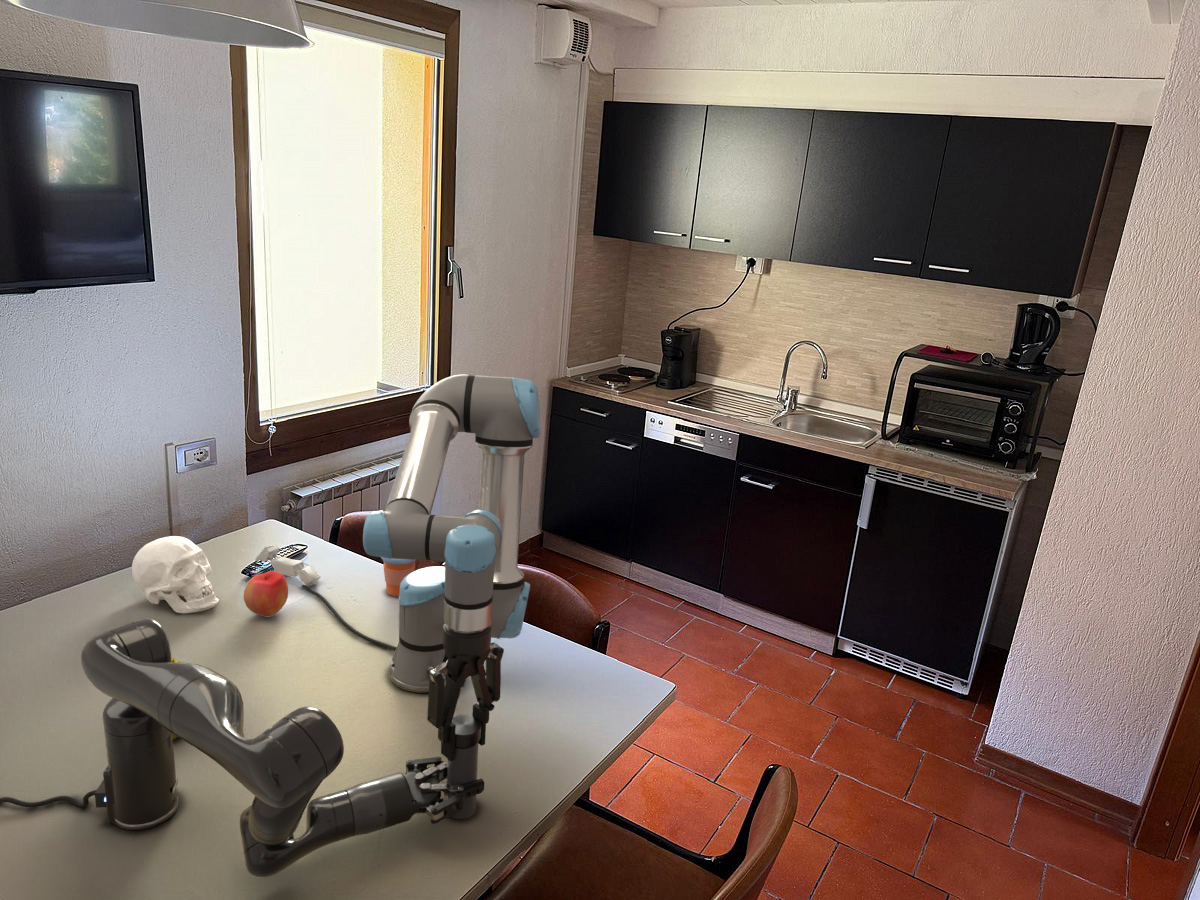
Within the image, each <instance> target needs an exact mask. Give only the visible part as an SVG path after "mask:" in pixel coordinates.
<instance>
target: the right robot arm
mask: <svg viewBox="0 0 1200 900" xmlns="http://www.w3.org/2000/svg"><path fill="white" fill-rule="evenodd" d="M408 419H409V420H408V424H409V429H410V433H409V435H408V438H407V441H406V445H405V447H404V451H403V453H402V456H401V459H400V462H399V466H398V469H397V472H396V475H395V478H394V480H393V481H394V482H393V483H392V486H391V490H390V493H389V496H388V498H387V502H386V505H385V507H384V508H385V509H384V510H382V509H381V510H373V511H370V512H369V513H368V514H367V515H366V518H365V520H364V525H363V531H362V532H363V533H362V545H363V549H364V551H365V553H366V555H368V556H371V557H376V558H381V557H383V558H389V559H392V558H393V559H413V560H415V561H416V560H417V561H431V562H442V563H443V562H444V565H443V566H441V565H435V566H433V565H432V566H426V567H422V568H419V569H415V571H414V572H412V573H410V574H408V575H407V576H406V577H405V578H404V579H403V580H402V582H401V585H400V594H399V596H398V598H397V601H398V643H397V645H396V646H394V645H390V644H387V643H385V642H382V641H380V640H376V639H374V638H371V637H369V636H367V635H365V634H364V633H361V632H360V631H358V630H357V629H356V628H354V627H352V626H351V625H350V623H347V621H345V620H344V618H342V616H341V615H340V614H339V613H338V611H337V610H336V609H335V608H334V607H333V606H332V604H331V603H330V602H329V600H328V599H326V598H325V597H324V596H323V595H321V594H320V593H319V592H318V591H316V590H315V589H313V588H311V587H309V586H306V585H305V584H304V583H303V584H302V585H301V587H302V589H304V590H305V591H308V592H309V593H311V594H313V595H314V596H316V597H317V598H318V599H319V600H320V601H321V602H323V603H324V604H325V606H326V607H327V608H328V610H330V612H331V613H332V614H333V615H334V616H335V618H336V619H337V620H338V621H339V622H340V624H342V625H343V626H344V628H346V629H348V631H349V632H351V633H352V634H354V635H356V636H357V637H359V638H361V639H362V640H364V641H367V642H369V643H371V644H374V645H376V646H379V647H382V648H385V649H387V650H391V651H394V653H393V656H392V659H391V660H390V666H389V679H390V681H391V682H392V683H393V684H394V685H395V686H396V687H398V688H399V689H401V690H404V691H407V692H410V693H416V694H428V696H427V697H428V698H427V699H428V700H427V712H426V714H427V716H426V720H427V722H428V723H430V724H431V725H432V726H433V727H435V728H436V729H437V739H438V741H440V754H441V755H443V757H445V758H446V759H447V761H448V760H450V761H452V760H454V759H455V729H456V725H455V724H454V723H452V720H453V717H455V712H456V709H457V706H458V702H459V697H460V693H461V690H462V688H464V687H465V684H466V681H467V679H469V678H471V683H472V687H473V691H474V694H475V699H476V701H477V702H476V703H473V704H472V716H474V717H476V718H478V719H479V720H480V722H481V738H480V741H479V742H478V745H479V746H481V747H482V746H484V745H486V733H487V724H488V723H489V721H490V712H492V711H494V709H495V704H493V703H494V702H498V701H500V699H501V679H502V677H501V676H502V675H501V674H502V659H503V655H504V652H505V648H503V647H502V646H500V645H498V644H497V643H495V642H493V641H492V639H497V640H501V639H515V638H517V637H518V636H520V635H521V633H522V630H523V625H524V619H525V614H526V610H527V605H528V600H529V595H530V591H531V584H530V582H527V581H525V574H524V572H523V571H522V570H521V569H520V568H519V565H518V563H519V546H520V533H521V532H520V531H521V516H522V500H523V499H522V498H523V483H524V481H523V480H524V467H525V454H526V453H527V452H528V451H529V450H531V448H533V444H534V439H535V440H536V439H537V438H540V437H541V408H540V396H539V389H538V387H537V384H536V382H534V381H533V380H530V379H526V378H520V377H519V378H518V377H514V376H513V377H511V376H509V377H508V376H489V375H474V374H473V375H472V374H465V373H463V374H455V375H451V376H448V377H445V378H443V379H441V380H439V381H437V382H436V383H434V384H433V385H431V386H430V387H428V389H426V390H425V391H424V392H423V393H422V394H421V395H420V397H419V398H418V399H417V400H416V402H415V404H414V405H413V407H412V410H411V412H410V415H409V418H408ZM458 433H467V434H475V435H474V437H475V438H474V443H475V444H476V446H477V447H478V448H479V449H480V451H481V464H480V482H479V502H478V509H475V510H471V511H470V512H468V513H466V514H464V516H455V515H452V516H451V515H439V514H438V515H437V514H432V511H433V507H434V503H435V498H436V495H437V490H438V487H439V484H440V479H441V476H442V473H443V469H444V466H445V462H446V457H447V454H448V450H449V448H450V447H449V446H450V442H451V441H452V440H454V439H455V438H456V437H457V435H458Z"/></svg>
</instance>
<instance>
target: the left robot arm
mask: <svg viewBox="0 0 1200 900" xmlns="http://www.w3.org/2000/svg"><path fill="white" fill-rule="evenodd" d="M80 653H81V655H80V663H81V667H82V670H83V673H84V674H85V676H86V678H87V680H88V681H89V682H90V683H91V684H92V685H93V687H94V688H95V689H97V690H98V691H99V692H101V693H102V694H104V695H105V696H108V697H109V698H111V699H109V701H108V702H107V703H106V704H105V706H104V709H103V711H102V724H103V731H104V740H105V748H106V758H107V766H106V768H105V769H104V771H103V772H102V774H103V775H102V776H103V780H102V781H101V783H100V785H98V787H97V789H94V790H92V791H88V792H87V793H86V794H84V796H83V797H82V801H79V800H78V799H77V798H75V797H72V796H69V795H59V796H53V797H51V798H48V799H44V800H40V801H33V802H32V801H31V802H29V801H23V800H20V799H17V798H14V797H10V796H4V797H0V804H2V803H9V804H13V805H15V806H19V807H23V808H39V807H43V806H46V805H49V804H53V803H57V802H58V803H59V802H68V803H71V804H72V805H74V806H75V807H78V808H81V809H84V808H87V807H88V806H89V805H90V804H89V799H90V798H91V797H94V801H95V808H99V809H101V808H102V809H103V808H105V809H106V813H107V822H108V824H115V825H116V826H117V827H119V828H121V829H122V830H127V831H141V830H146V829H147V830H148V829H150V828H154V827H156V826H159V825H160V824H162V823H164V822H166V821H168V819H170V818H171V817H172V816H173V815H174V814H175V813H176V811H177V810H178V806H179V802H180V801H179V793H178V785H179V778H177V775H176V774H177V772H176V763H175V749H174V740H173V736H172V733H173V734H174V735H176V736H177V737H176V738H179V739H180V740H182V741H184V742H185V743H186V744H189V745H191V746H192V747H193V748H195V749H197V750H198V751H200V752H201V753H202V754H204V755H205V756H207V757H208V758H210V759H211V760H212V761H214V762H215V763H216V764H218V765H219V766H221V767H222V768H223V769H224V770H225V771H226V772H228V774H229V775H230V776H232V777H233V778H234V779H235V780H236V781H238V782H239V783H240V785H242V786H243V787H244V788H245V789H247V791H249V792H250V793H251V794H252V795H254V798H253V800H252V802H251V805H249V806H247V807H246V808H245V809H244V810H243V811H242V812H241V813H240V816H239V832H240V837H241V843H242V851H243V855H244V861H245V867H246V870H247V872H248V873H249V874H250V875H251V876H254V877H257V878H268V877H272V876H273V877H274V876H275V875H278V874H279V873H281V872H282V871H285V870H286V869H287V868H289V867H290V866H292V865H293V864H295V863H297V862H298V861H300V860H301V859H303V858H304V857H307V855H310V854H311V853H313V852H315V851H317V850H319V849H321V848H323V847H326V846H328V845H330V844H331V845H332V844H333V843H337V842H340V841H344V840H346V839H349V838H352V837H357V836H362V835H367V834H371V833H374V832H377V831H381V830H384V829H387V828H390V827H393V826H396V825H400V824H403V823H406V822H408V821H410V820H411V819H412V818H413V816H414V815H417V814H427V815H428V816H429V817H430V823H431V824H432V825H437V824H439V823H441V822H443V821H444V820H446V819H449V818H451V817H450V816H452V815H454V814H456V813H458V812H459V811H461V810H463V808H464V799H465V798H468V797H471V796H475V795H476V796H477V795H481V794H482V793H483V792H484V791H485V784H486V783H485V780H484V779H483V778H477V780H474V781H471V782H468V783H464V784H462V785H456V786H449V785H448V784H447V783H442V782H443V781H445V780H447V768H448V761H443V758H442V757H441V756H433V757H432V756H431V757H425V758H417V759H408V760H407V761H405V774H404V773H403V772H396V773H392V774H388V775H386V776H381V777H379V778H378V777H377V778H375V779H371V780H367V781H364V782H361V783H358V784H355V785H353V786H351V787H349V788H345V789H342V790H339V791H335V792H332V793H329V794H324V795H321V796H318V797H316V798H313V799H312V797H313V796H314V794H315V793H316V791H317V790H318V788H319V787H320V786H321V784H322V782H323V781H324V780H326V779H327V778H328V777H329V776H330V775H331V774H332V773H333V772H334V771H335V770H336V768H337V767H338V766H339V765H340V763H341V762H342V760H343V757H344V754H345V753H344V752H345V744H344V740H343V736H342V734H341V731H340V729H339V728H338V727H337V725H336V724H335V723H334V721H333V720H332V719H331V718H330V716H328V715H327V714H326V713H325V712H324V711H322V710H321V709H319V708H317V707H314V706H303V707H302V706H301V707H299V708H296V709H294V710H293V711H291V712H290V713H288V714H286V715H285V716H284V717H282V718H281V719H279V720H278V721H276V723H274V724H273V725H271V726H270V727H268V728H267V729H266V730H264V731H263V732H261V734H259V735H258V736H256V737H254V738H246V737H245V735H244V725H245V724H244V723H245V713H244V711H245V709H244V701H243V697H242V694H241V692H240V689H239V688H238V687H237V685H236V684H235V683H234V682H233V681H232V680H230V679H228V678H227V677H226V676H224V675H222V674H220V673H218V672H216V671H214V670H213V669H211V668H210V667H207V666H205V665H201V664H197V663H190V662H181V663H171V658H172V651H171V645H170V641H169V637H168V635H167V632H166V630H165V629H164V627H163V626H162V624H160V622H158V621H157V620H155V619H153V618H142V619H139V620H135V621H133V622H130V623H127V624H124V625H120V626H118V627H115V628H112V629H109V630H107V631H104V632H101V633H99V634H97V635H94V636H93V637H92V638H90V639H89V640H88V641H87V642H86V643H85V644H84V646H83V647H82V650H81V652H80ZM431 765H432V766H431ZM428 766H430V767H428ZM442 793H443V797H442ZM449 793H456V795H455V796H449ZM454 804H456V805H454ZM453 805H454V806H453ZM452 806H453V807H452ZM305 810H306V820H305V821H306V827H305V831H304V833H302V834H301V836H299V837H297V838H295V836H294V835H295V834H294V833H295V832H296V831H297V829H298V827H299V825H300V822H301V820H302V817H303V815H304V812H305Z"/></svg>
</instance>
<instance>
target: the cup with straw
mask: <svg viewBox="0 0 1200 900" xmlns="http://www.w3.org/2000/svg"><path fill="white" fill-rule="evenodd" d="M380 559H381V561H383V575H384V582H385V588H386V593H387V594H388V595H390V596H393V597H399V594H400V585H401V582H402V580H403V579H404V578H405V577H406V576H407V575H408V574H410V573H412V572H414V571H416V560H413V559H393V558H392V559H389V558H383V557H380Z"/></svg>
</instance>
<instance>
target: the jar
mask: <svg viewBox="0 0 1200 900" xmlns="http://www.w3.org/2000/svg"><path fill="white" fill-rule="evenodd" d="M447 762H448V768H447V778H446V784H448V785H449V786H456V785H462V784H464V783H468V782H471V781H474V780H477V779H478V762H479V744H478V743H477V744H475V745H473V746H471V747H466V748H460V747H455V759H454V760H452V761H450V760H448V759H447ZM455 795H456V793H449V796H455ZM454 805H456V804H454ZM454 805H453V806H454ZM453 806H452V807H453ZM476 809H477V795H475V796H471V797H468V798H465V799H464V808H463V810H461V811H459V812H458V813H456V814H454V815H452V816H450V817H449V818H452V819H455V820H466V819H468V818H470V817H472V816H473V815H474V814H475V813H476V811H477V810H476Z"/></svg>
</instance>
